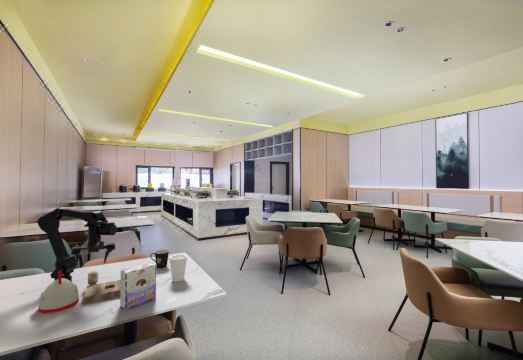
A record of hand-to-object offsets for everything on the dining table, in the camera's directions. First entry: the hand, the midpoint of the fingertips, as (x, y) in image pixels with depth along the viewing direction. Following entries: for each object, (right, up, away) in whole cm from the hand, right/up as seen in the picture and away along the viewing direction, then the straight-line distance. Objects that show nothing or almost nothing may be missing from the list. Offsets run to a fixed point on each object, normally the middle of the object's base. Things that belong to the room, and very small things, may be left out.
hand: (94, 264), depth 126 cm
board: (+11, -12, -7) cm, 17 cm away
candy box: (+32, -12, -16) cm, 37 cm away
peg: (0, -12, -1) cm, 12 cm away
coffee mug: (+22, -13, +32) cm, 40 cm away
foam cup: (+41, -12, +10) cm, 44 cm away
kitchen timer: (-3, -12, -18) cm, 22 cm away
